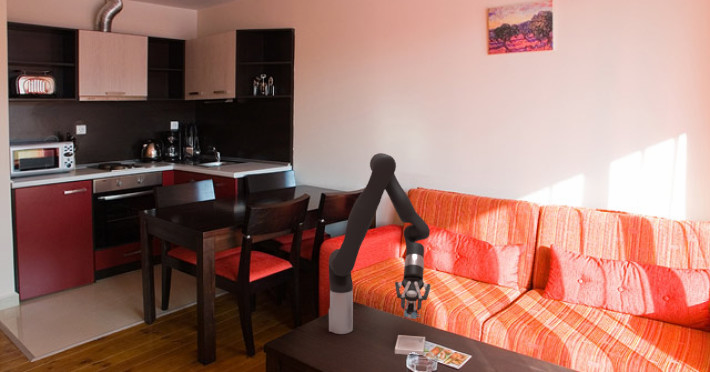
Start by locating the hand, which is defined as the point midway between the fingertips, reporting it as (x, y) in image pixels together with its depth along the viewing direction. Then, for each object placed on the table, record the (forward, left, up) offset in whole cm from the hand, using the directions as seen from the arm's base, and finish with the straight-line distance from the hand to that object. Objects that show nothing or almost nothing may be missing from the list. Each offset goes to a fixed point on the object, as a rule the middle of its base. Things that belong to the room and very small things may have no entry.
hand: (410, 308), depth 201 cm
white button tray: (0, +1, -16) cm, 16 cm away
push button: (0, +2, -4) cm, 5 cm away
